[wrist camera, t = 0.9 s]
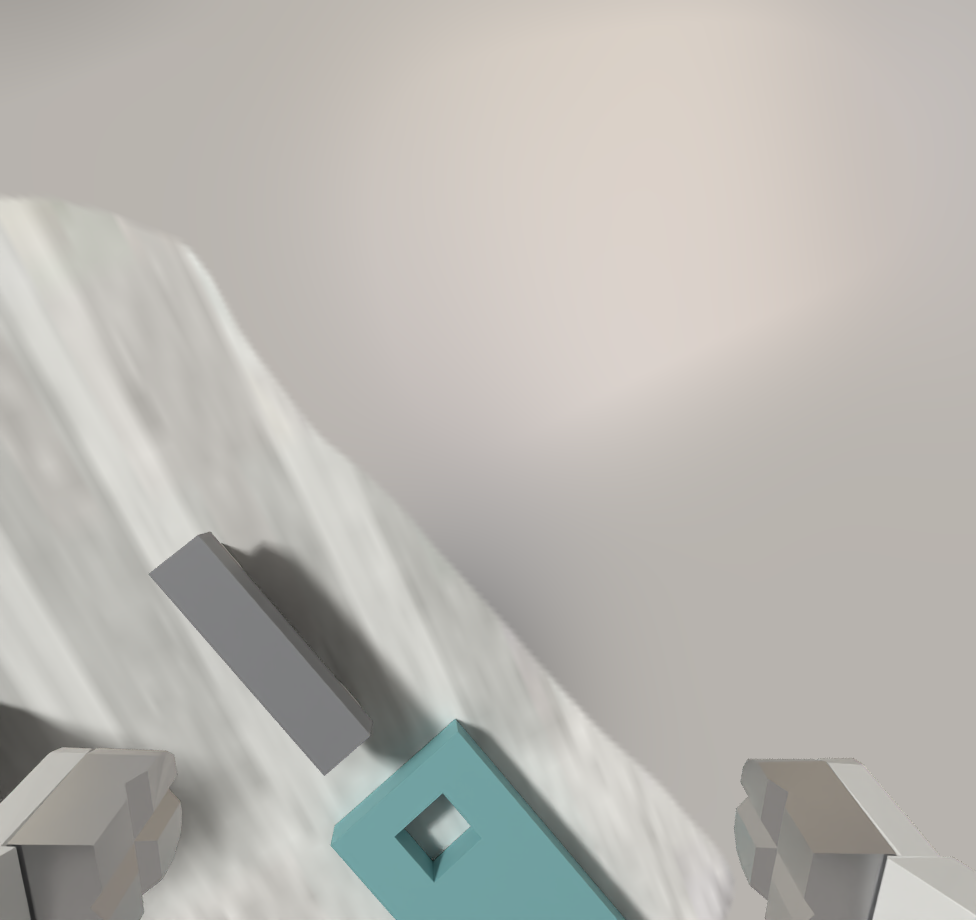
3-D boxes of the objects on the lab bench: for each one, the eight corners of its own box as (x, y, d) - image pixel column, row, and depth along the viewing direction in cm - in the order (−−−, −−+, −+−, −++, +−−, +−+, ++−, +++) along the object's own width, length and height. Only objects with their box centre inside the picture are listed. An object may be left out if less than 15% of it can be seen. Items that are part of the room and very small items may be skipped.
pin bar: (375, 705, 47) (370, 735, 41) (334, 740, 46) (324, 776, 41) (223, 528, 46) (198, 534, 40) (179, 562, 45) (148, 574, 40)
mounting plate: (642, 939, 49) (654, 963, 47) (530, 1049, 48) (537, 1081, 45) (455, 718, 48) (458, 731, 45) (334, 825, 46) (330, 845, 44)
